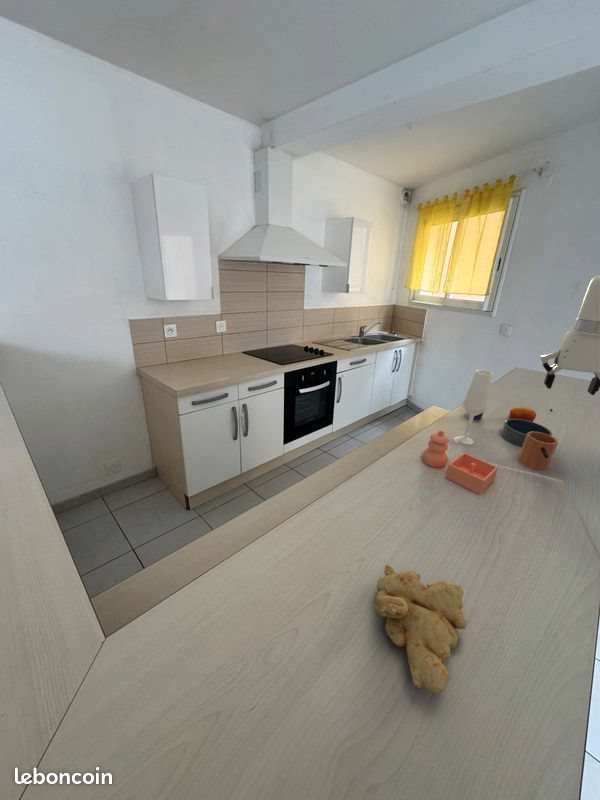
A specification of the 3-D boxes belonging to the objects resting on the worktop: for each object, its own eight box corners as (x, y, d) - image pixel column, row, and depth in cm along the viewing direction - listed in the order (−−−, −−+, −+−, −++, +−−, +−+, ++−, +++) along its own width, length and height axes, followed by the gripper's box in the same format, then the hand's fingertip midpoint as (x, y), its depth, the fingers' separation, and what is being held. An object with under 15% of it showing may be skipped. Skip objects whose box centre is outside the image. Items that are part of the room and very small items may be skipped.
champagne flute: (464, 448, 102) (484, 376, 92) (448, 437, 108) (467, 369, 98) (480, 445, 104) (502, 375, 94) (464, 435, 110) (484, 368, 100)
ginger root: (400, 556, 61) (416, 532, 56) (476, 641, 51) (502, 620, 46) (339, 603, 52) (351, 580, 48) (415, 716, 43) (440, 700, 38)
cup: (543, 462, 96) (554, 435, 93) (552, 484, 86) (565, 455, 83) (516, 455, 99) (525, 429, 95) (522, 476, 89) (533, 447, 85)
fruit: (514, 425, 115) (516, 403, 116) (504, 427, 123) (506, 406, 124) (539, 428, 114) (541, 406, 115) (528, 430, 121) (529, 409, 122)
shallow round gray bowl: (542, 437, 111) (547, 424, 109) (550, 455, 100) (556, 441, 98) (498, 428, 116) (502, 415, 114) (502, 444, 105) (507, 431, 103)
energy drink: (462, 419, 121) (471, 389, 117) (468, 415, 125) (476, 386, 120) (477, 424, 118) (486, 394, 113) (482, 420, 121) (491, 391, 117)
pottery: (493, 480, 87) (504, 449, 83) (479, 494, 81) (490, 461, 77) (431, 451, 99) (438, 423, 95) (415, 462, 93) (421, 432, 89)
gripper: (630, 328, 82) (603, 391, 88) (548, 321, 88) (529, 380, 95) (644, 333, 75) (614, 400, 82) (555, 326, 82) (534, 389, 88)
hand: (568, 390), depth 88 cm, fingers open, 9 cm apart
